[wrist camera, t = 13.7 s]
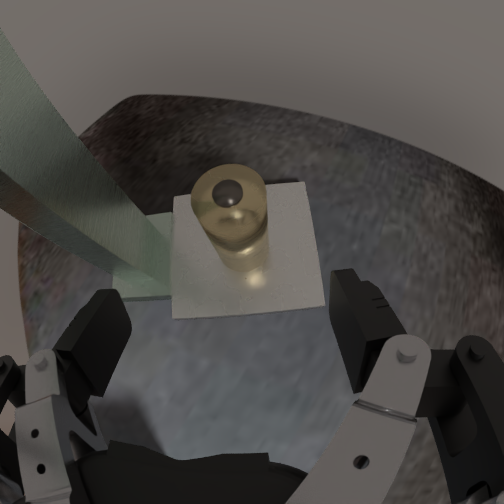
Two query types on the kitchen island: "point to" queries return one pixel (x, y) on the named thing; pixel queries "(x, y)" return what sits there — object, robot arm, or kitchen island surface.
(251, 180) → the housing
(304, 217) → the press bed
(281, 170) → the kitchen island surface
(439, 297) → the kitchen island surface
